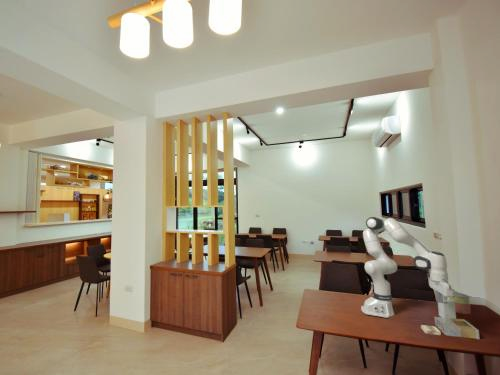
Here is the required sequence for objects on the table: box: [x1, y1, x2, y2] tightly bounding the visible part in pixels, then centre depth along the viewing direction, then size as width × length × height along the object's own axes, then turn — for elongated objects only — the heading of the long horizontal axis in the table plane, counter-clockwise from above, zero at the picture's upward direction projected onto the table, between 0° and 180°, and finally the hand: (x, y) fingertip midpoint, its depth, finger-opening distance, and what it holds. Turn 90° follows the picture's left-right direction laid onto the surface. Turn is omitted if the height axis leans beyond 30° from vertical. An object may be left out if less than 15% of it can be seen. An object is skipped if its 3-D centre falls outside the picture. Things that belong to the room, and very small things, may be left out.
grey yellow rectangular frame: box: [433, 316, 480, 340], centre depth 150 cm, size 17×14×5 cm
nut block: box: [434, 291, 447, 304], centre depth 153 cm, size 5×5×5 cm
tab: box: [420, 324, 442, 336], centre depth 150 cm, size 8×7×2 cm
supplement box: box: [437, 297, 457, 319], centre depth 169 cm, size 7×7×13 cm
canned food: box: [449, 291, 471, 315], centre depth 178 cm, size 11×11×12 cm
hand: (441, 299), depth 152 cm, fingers closed on nut block, 6 cm apart
